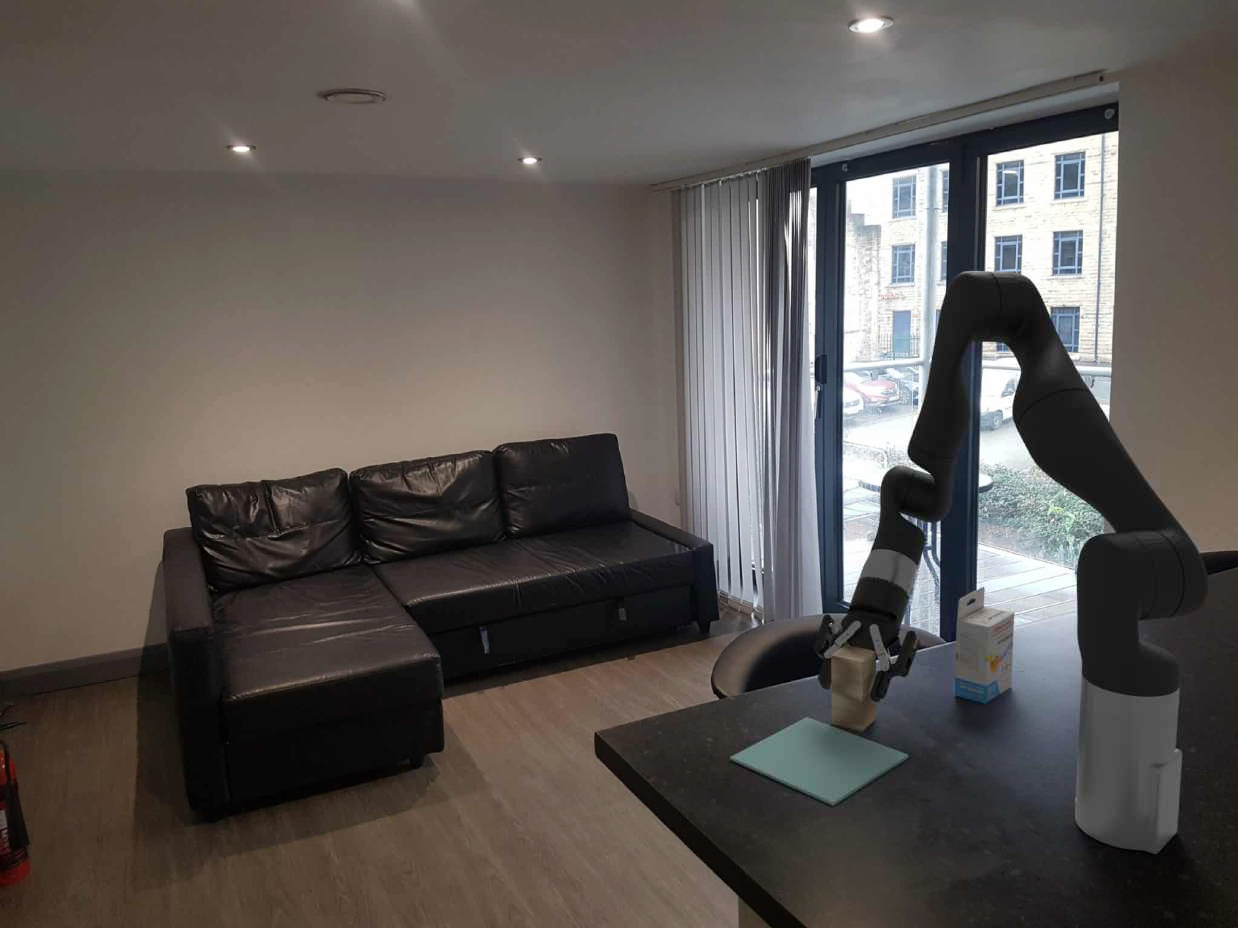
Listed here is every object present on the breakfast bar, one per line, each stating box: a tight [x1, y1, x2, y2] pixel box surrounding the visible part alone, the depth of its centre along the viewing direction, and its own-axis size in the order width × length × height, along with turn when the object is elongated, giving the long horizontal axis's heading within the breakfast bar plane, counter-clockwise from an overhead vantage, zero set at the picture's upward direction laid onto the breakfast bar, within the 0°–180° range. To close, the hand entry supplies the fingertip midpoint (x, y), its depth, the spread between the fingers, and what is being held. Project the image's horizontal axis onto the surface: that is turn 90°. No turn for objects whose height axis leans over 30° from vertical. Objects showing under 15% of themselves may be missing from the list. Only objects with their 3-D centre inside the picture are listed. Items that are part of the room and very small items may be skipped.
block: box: [831, 644, 877, 732], centre depth 131 cm, size 4×4×10 cm
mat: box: [729, 716, 909, 807], centre depth 122 cm, size 16×16×1 cm
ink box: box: [954, 586, 1015, 705], centre depth 138 cm, size 8×5×15 cm, turn 134°
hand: (849, 692), depth 130 cm, fingers open, 7 cm apart
